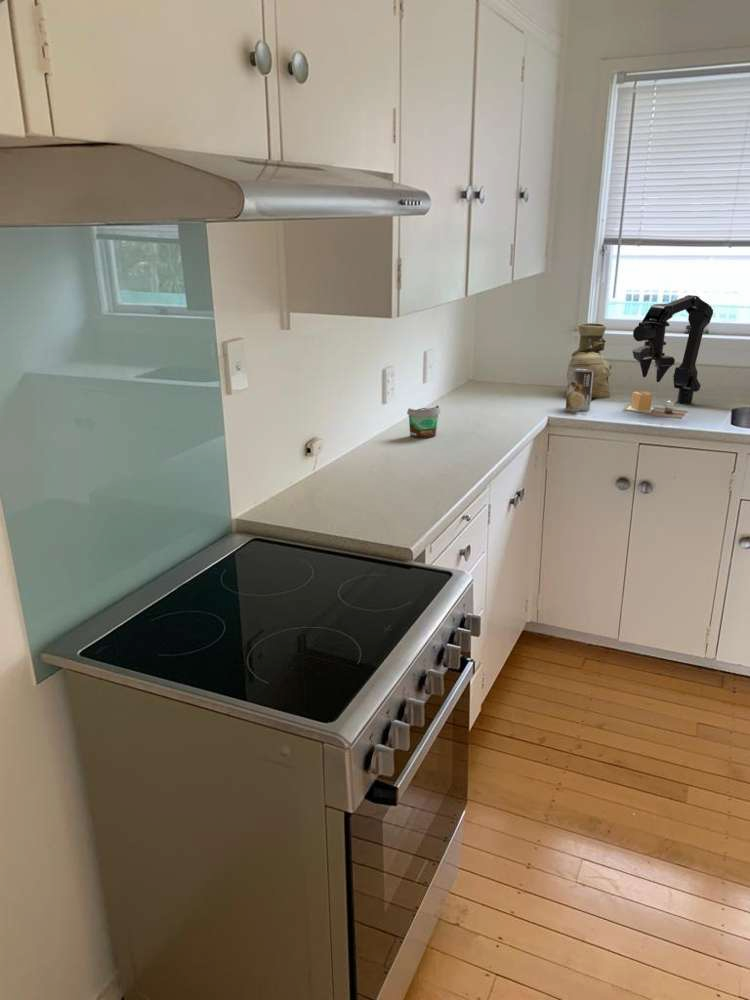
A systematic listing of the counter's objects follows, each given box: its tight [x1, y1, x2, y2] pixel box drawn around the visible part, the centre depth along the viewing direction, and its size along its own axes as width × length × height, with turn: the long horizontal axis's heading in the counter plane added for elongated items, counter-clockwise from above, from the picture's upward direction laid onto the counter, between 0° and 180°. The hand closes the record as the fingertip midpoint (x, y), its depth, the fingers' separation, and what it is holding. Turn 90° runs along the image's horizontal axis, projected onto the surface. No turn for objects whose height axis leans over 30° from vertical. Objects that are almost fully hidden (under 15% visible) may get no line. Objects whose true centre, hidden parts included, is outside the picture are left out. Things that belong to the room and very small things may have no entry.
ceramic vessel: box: [566, 322, 612, 400], centre depth 314 cm, size 19×21×30 cm
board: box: [621, 403, 689, 420], centre depth 290 cm, size 14×22×1 cm, turn 59°
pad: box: [626, 404, 656, 413], centre depth 292 cm, size 9×9×1 cm
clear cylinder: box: [664, 399, 675, 414], centre depth 287 cm, size 3×3×4 cm
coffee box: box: [564, 368, 594, 413], centre depth 291 cm, size 9×6×16 cm
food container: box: [406, 404, 441, 439], centre depth 255 cm, size 12×6×10 cm, turn 117°
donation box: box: [630, 391, 653, 410], centre depth 291 cm, size 5×5×6 cm
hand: (651, 379), depth 289 cm, fingers open, 9 cm apart
